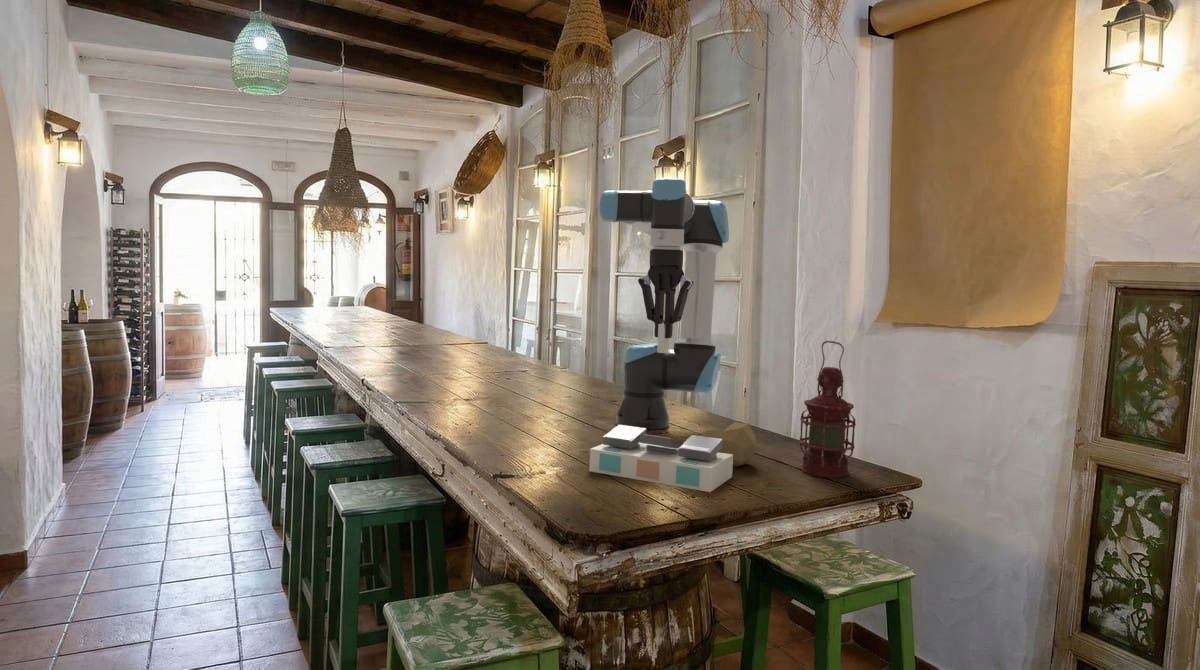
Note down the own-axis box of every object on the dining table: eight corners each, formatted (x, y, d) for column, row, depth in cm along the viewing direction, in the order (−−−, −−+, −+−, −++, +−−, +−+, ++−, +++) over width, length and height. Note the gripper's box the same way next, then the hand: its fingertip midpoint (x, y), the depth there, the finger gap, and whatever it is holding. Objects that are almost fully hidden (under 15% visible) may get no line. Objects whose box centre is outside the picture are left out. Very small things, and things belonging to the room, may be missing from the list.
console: (617, 458, 188) (618, 433, 187) (732, 477, 175) (733, 450, 175) (588, 471, 175) (589, 444, 175) (709, 492, 163) (711, 463, 162)
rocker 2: (692, 442, 176) (692, 434, 175) (722, 446, 173) (722, 438, 172) (678, 456, 169) (678, 447, 169) (709, 461, 166) (709, 452, 165)
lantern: (786, 466, 186) (794, 338, 183) (829, 463, 190) (837, 338, 188) (819, 480, 175) (827, 344, 172) (864, 477, 179) (873, 344, 176)
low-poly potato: (757, 461, 192) (719, 433, 197) (774, 428, 186) (734, 400, 191) (724, 489, 181) (685, 459, 186) (740, 455, 175) (699, 425, 180)
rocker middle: (653, 444, 180) (655, 436, 180) (682, 449, 177) (684, 440, 177) (639, 442, 173) (640, 433, 173) (669, 447, 169) (670, 437, 170)
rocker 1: (619, 431, 184) (618, 423, 184) (646, 435, 181) (646, 427, 180) (603, 444, 177) (602, 436, 177) (631, 448, 174) (631, 440, 174)
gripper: (633, 247, 180) (629, 351, 182) (687, 249, 174) (682, 356, 176) (647, 247, 186) (644, 348, 189) (700, 249, 180) (695, 353, 183)
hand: (662, 352), depth 183 cm, fingers closed
